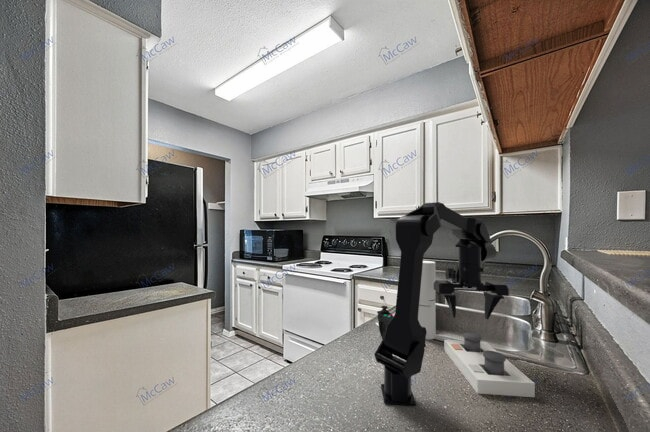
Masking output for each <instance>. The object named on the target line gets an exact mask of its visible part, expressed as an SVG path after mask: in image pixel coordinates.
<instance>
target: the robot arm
mask: <svg viewBox="0 0 650 432" xmlns="http://www.w3.org/2000/svg"><path fill="white" fill-rule="evenodd" d="M441 226H443V227H445V228H447V229H450V230H451V232H452V235H453V236H455V237H456V238H457V239H459V240H458V241H457V243H455V248H458V264H457V265H456V269H455V270H454V268H452V267H451V268H450V267H448V268H446V269H445V273H444V275H445V280H444V279H442V280H440V279H436V281H435V282H434V290H435V291H436V292H437V293H438V294H440V295H442V297H444V299H445V301H446V302H447V305H448V308H449V311H450V313H451V314H450V315H451V317H452V318H453V319H455V318H456V314H457V303H456V301H457V296H456V295H455V294H454V293H455V291H456V292H457V291H459V292H462V291H463V292H483V296H484V318H485V320H489V319H490V317H491V315H492V313H493V312H494V309H495V308H496V306H497V305H498V304H499V303H500V301H501V300H503V299H505V297H509V296H510V288H509V286H508V285H507V284H505V283H503V282H500V281H485V283H483V282H482V273H484V268H483V267H482V262H487V261H488V262H490V261H492V260H493V259H495V258H496V256H497V248H496V247H495V246H494V245H493V244H492V240H491V236H490V234H489V232H488V229H487V226H486V224H485V222H484V221H483V219H480V218H476V217H466V216H464V215H462V214H461V213H459V212H457V211H455V210H453V209H451V208H449V207H447V206H446V205H445V204H444V203H442V202H440V201H437V202H425V203H424V204H422V205H421V206H419V207H418V208H416V209H413V210H411V211H409V212H408V213H406V214H404V215H402V216H400V217H399V218H398V219H397V220H396V222H395V241H396V245H397V246H398V248H399V251H400V261H399V268H398V269H399V271H398V272H399V273H398V281H397V282H398V283H397V290H396V291H397V292H396V299H395V300H396V302H395V312H394V316H393V318H392V319H391V321H390V322H389V323H388V325H387V328H386V333H385V337H384V338H382V340H381V342H380V344H379V345H378V347H377V348H376V351H375V352H374V359H375V362H376V363H378V364H381V365H383V367H384V369H383V371H384V372H383V375H384V376H383V383H381V384H380V388H381V394H382V398H383V403H384V404H388V405H400V406H401V405H402V406H416V405H417V403H416V399H415V397H414V394H413V391H412V377H413V376H415V375H417V374H419V373H421V370H422V365H423V362H424V361H423V360H424V356H425V351H426V350H425V348H426V347H427V346H426V340H427V339H426V333H427V332H426V328H425V327H422V326H421V325H420V323H419V321H418V311H419V300H420V288H421V277H422V266H423V261H424V255H425V253H426V252H427V251H428V249H429V248H430V247H431V245H432V244H433V239H434V234H435V233H436V232H437V231H438V230H439V229H440V228H441ZM449 280H451V281H452V282H451V281H449Z"/></svg>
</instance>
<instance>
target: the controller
mask: <svg viewBox="0 0 650 432" xmlns="http://www.w3.org/2000/svg"><path fill="white" fill-rule="evenodd" d="M380 307H381V309H380V310H377V312H376V313H377V321H378V322H377V323H378V330H379V334H380V337H381V338H382V339H383V338H384V337H385V333H386V328H387V325H388V323H389V322H390V321H391V319H392V318H393V317H394V316H393V315H394V314H392V313H391V312H390V311H389V310H388V305H381V306H380Z"/></svg>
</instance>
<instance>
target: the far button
mask: <svg viewBox="0 0 650 432" xmlns="http://www.w3.org/2000/svg"><path fill="white" fill-rule="evenodd" d="M462 336H463V341H464V349H465V350H466V351H467V352H480V342H482V336H481V334H478V333H475V332H469V331H468V332H463V333H462Z"/></svg>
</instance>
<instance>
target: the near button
mask: <svg viewBox="0 0 650 432" xmlns="http://www.w3.org/2000/svg"><path fill="white" fill-rule="evenodd" d="M483 356H484V357H485V372H486V373H487V374H488V375H500V376H504V362H505V360H506V359H507V358H506V355H505V354H503V353H501V352H499V351H497V352H495V351H484V352H483Z"/></svg>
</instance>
